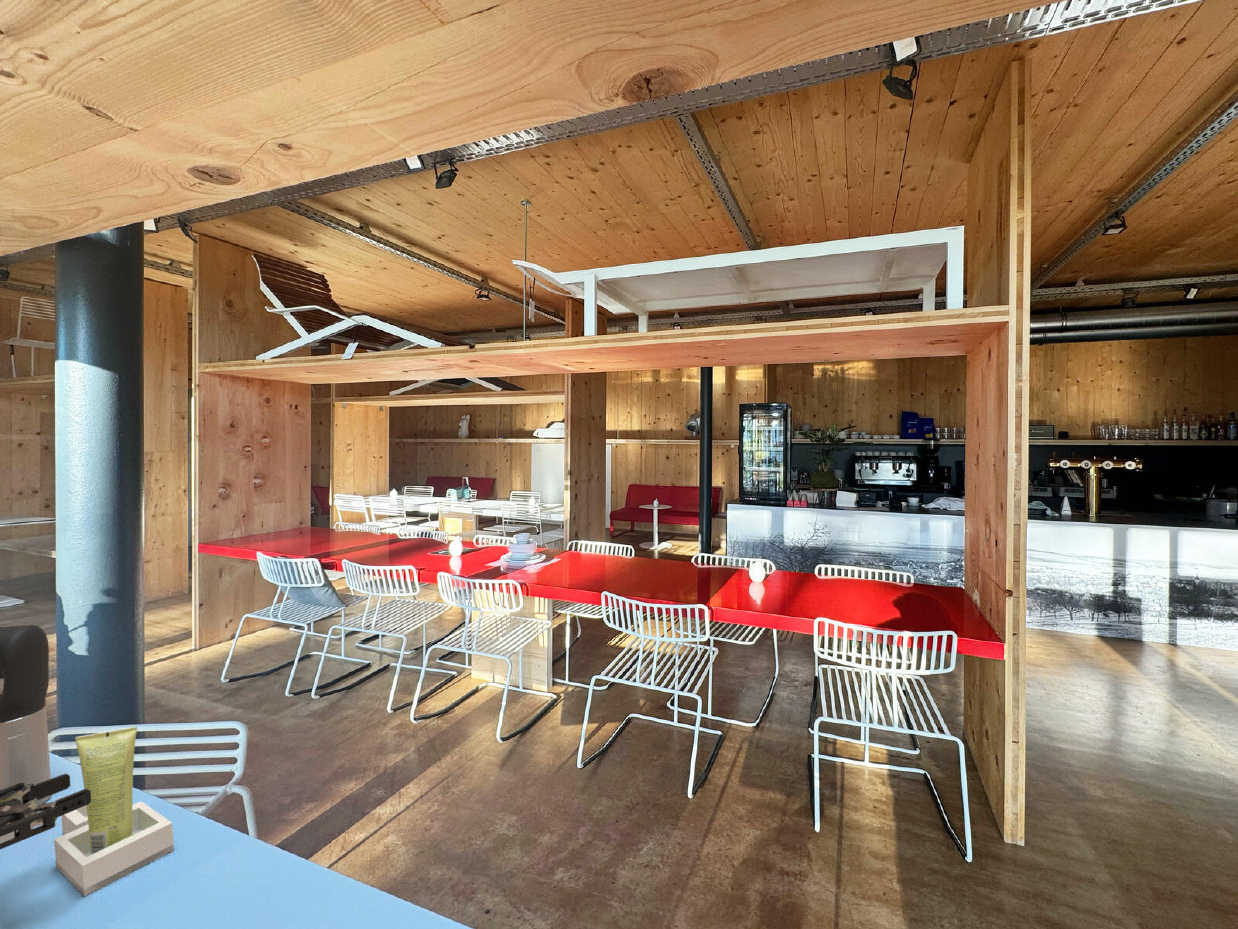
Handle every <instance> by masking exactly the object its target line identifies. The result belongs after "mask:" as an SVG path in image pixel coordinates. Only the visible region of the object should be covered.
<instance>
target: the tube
mask: <svg viewBox="0 0 1238 929" xmlns="http://www.w3.org/2000/svg"><path fill="white" fill-rule="evenodd" d="M137 733H138V727H137V726H132V727H128V728H121V729H115V730H110V731H105V732H99V733H98V732H97V733H92V734H85V735H80V736H75V746H76V748H77V754H78V757H79V762H80V768H81V773H82V782H83V789H88V790H90V791H91V802H90V803H89V804H88V805H86V806H87V816H88V826H89V838H90V851H91V855H92V854H94V853H96V852H98V851H100V850H103V849H105V848H107V847H109V846H111V845H113V844H115V843H117V842H119V841H122V840H124V839H126V838H128V837H130V836H132V805H133V791H134V790H133V788H134V787H133V786H134V784H133V783H134V764H135V762H134V760H135V747H136V740H137V739H136V737H137Z"/></svg>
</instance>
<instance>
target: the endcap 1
mask: <svg viewBox="0 0 1238 929" xmlns="http://www.w3.org/2000/svg"><path fill="white" fill-rule="evenodd" d="M60 817H61V829H62V836H63V835H65V834H67V833H70V832H72V831H74V830H76V829H79V828H81V827H83V826H86V825H88V816H87V806H84V807H81V808H79V809H76V810H74V811H72V812H69V813H67V814H64V815H62V816H60Z"/></svg>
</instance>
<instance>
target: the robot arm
mask: <svg viewBox="0 0 1238 929" xmlns="http://www.w3.org/2000/svg"><path fill="white" fill-rule="evenodd" d="M49 655H50V647H49V639H48V637H47V634H46V632H45V630H44V629H43V628H41V627H40V626H39V625H35V624H23V625H11V626H10V625H9V626H7V625H6V626H0V680H3V686H2V688H3V689H2V692H1V693H0V850H2V849H5V848H7V847H10V846H13V845H15V844H17V843H21V842H22V841H24V840H27V839H29V838H32V837H34V836H35V837H36V835H37V836H38V835H39V834H42V833H44V832H47V831H49V830H52V829H54V828H55V827H56V821H57V820H58V818H59V817H61V816H62V815H64V814H67V813H69V812H72V811H74V810H76V809H79V808H81V807H84V806H86V805H88V804H89V803H90V802H91V791H90V790H88V789H84V788H83V789H80V790H78V791H76V792H74V793H71V794H69V795H65V796H63V797H61V798H59V799H56V800H55V801H50V802H46V801H48V800H49V799H50V798H51V796H52V795H55V794H57V793H60V792H63V791H65V790H68V789H69V788H70V787H71V776H70V775H69V773H63V774H60V775H57V776H55V777H53V778H52V777H51V761H50V759H51V758H50V747H49V746H50V745H49V744H50V743H49V736H48V735H49V732H48V719H47V718H48V717H47V706H46V704H47V703H46V697H47V693H48V690H49V683H50V682H49V681H50V680H49V676H50V674H49V673H50V671H49V670H50V669H49V668H50V667H49V665H50V664H49V663H50V662H49V661H50V659H49V658H50V656H49ZM45 802H46V803H45Z"/></svg>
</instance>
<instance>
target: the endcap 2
mask: <svg viewBox="0 0 1238 929" xmlns="http://www.w3.org/2000/svg"><path fill="white" fill-rule="evenodd" d="M173 830H174V829H173V822H172V821H170V820H169V819H167V818H166V817H165V816H163V815H161V814H160V813H159V812H158V811H156V810H155V809H153V808H151V807H150V806H148V805H147V804H146V803H144V802H143V801H138V802H136V803H134V804H133V803H132V836H130V837H128V838H126V839H124V840H122V841H119V842H117V843H115V844H113V845H111V846H109V847H107V848H105V849H103V850H100V851H98V852H96V853H94V854H92V855H91V851H90V838H89V826H88V825H86V826H83V827H81V828H79V829H76V830H74V831H72V832H70V833H67V834H65V835H63V834H62V835H61V836H59V837H56V838H54V839H53V840H54V852H55V853H54V855H55V867H56V869H57V870H58V871H59V872H60V873H61V875H63V876H64V878H66V880H67V881H69V882H70V884H71V885H73V886H74V888H76V890H77V891H78V892H80V894H81V895H82V896H84V897H86V896H88V895H91V894H93V893H95V892H96V891H98V890H100V889H102V888H104V887H105V886H108V885H110V884H112V883H114V882H115V881H118V880H120V879H122V878H123V877H125V876H127V875H130V874H131V873H134V872H135V871H137V870H139V869H141V868H142V867H144V866H146V865H149V864H150V863H152V862H154V861H156V860H158V859H159V858H162V857H164V856H166V855H168V854H169V852H170V853H171V852H174V851H175V850H174V849H175V848H174V847H175V845H174V831H173Z"/></svg>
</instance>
